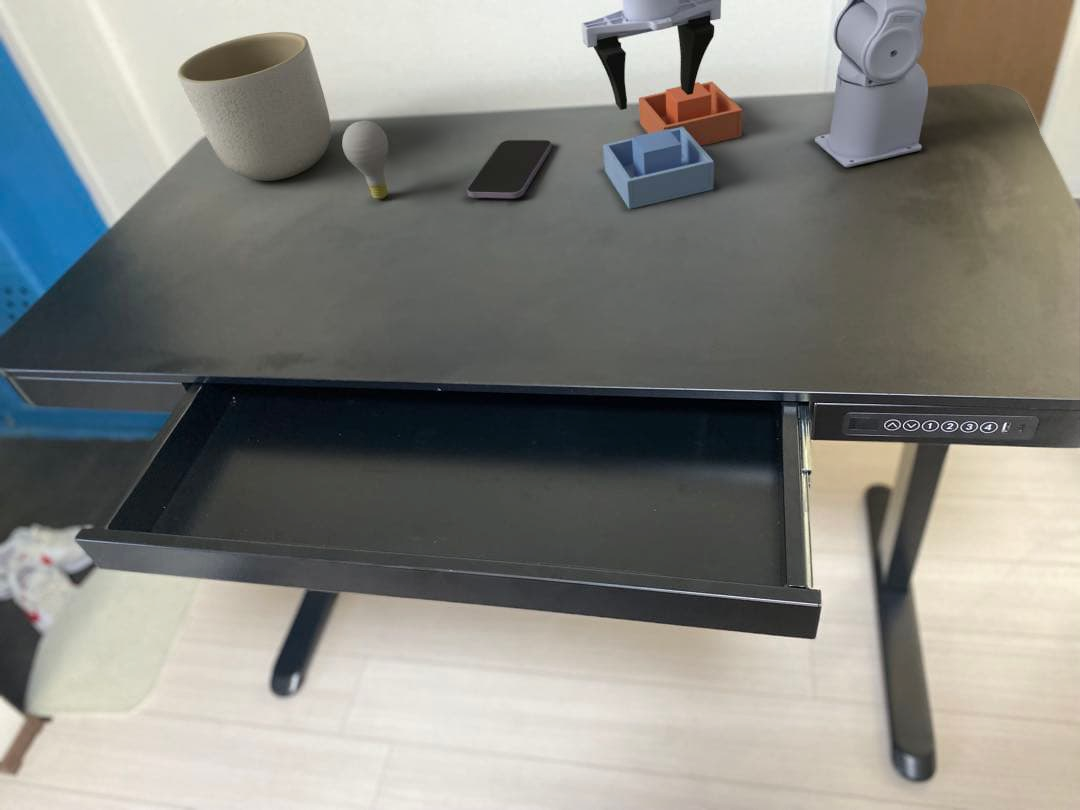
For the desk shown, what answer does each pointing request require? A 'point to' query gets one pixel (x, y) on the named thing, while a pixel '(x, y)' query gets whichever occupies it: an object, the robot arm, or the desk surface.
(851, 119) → the robot arm
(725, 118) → the terracotta bin
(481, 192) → the smartphone
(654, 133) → the slate-blue block
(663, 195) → the slate-blue bin
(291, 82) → the planter
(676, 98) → the terracotta block
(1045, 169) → the desk surface
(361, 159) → the light bulb
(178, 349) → the desk surface
